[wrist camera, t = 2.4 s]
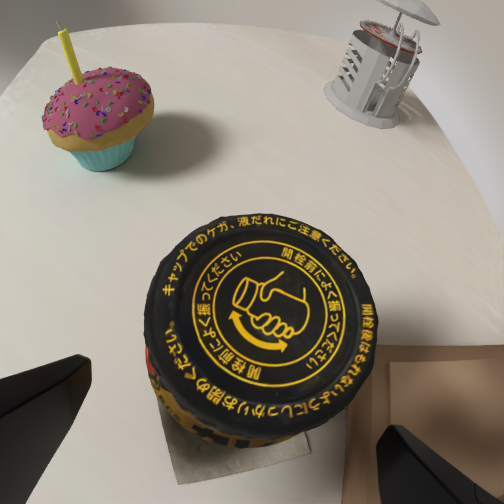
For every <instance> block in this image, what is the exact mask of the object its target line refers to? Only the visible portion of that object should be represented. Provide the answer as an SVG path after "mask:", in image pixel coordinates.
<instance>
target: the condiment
mask: <svg viewBox="0 0 504 504" xmlns="http://www.w3.org/2000/svg"><path fill="white" fill-rule="evenodd" d="M377 328H378V316H377V312H376V308H375V303H374V301H373V298H372V295H371V292H370V288H369V286H368V284H367V283H366V281H365V279H364V276H363V274H362V272H361V271H360V269H359V268H358V266H357V263H356V262H355V261H354V260H353V259H352V258H351V257H350V256H349V255H348V254H347V253H346V252H344V251H343V250H342V249H341V248H340V247H339V246H338V245H337V244H336V242H335V241H334V240H333V239H332V238H331V237H330V236H328V235H327V234H326V233H324V232H323V231H321V230H319V229H316V228H314V227H312V226H310V225H308V224H306V223H303V222H301V221H298V220H295V219H292V218H289V217H284V216H280V215H275V214H261V213H258V214H249V215H236V216H228V217H220V218H218V219H216V220H213V221H212V222H210V223H209V224H207V225H204V226H201V227H199V228H197V229H196V230H194V231H193V232H191V233H190V234H189V235H188V236H186V237H185V238H184V239H183V240H182V241H181V242H180V243H179V244H178V245H176V246H175V248H174V249H173V250H172V251H171V252H170V253H169V254H168V255H167V256H166V257H165V258H163V259H162V261H161V262H160V264H159V267H158V269H157V272H156V274H155V276H154V277H153V279H152V281H151V284H150V288H149V291H148V294H147V299H146V304H145V310H144V338H145V344H146V364H147V368H148V376H149V378H150V381H151V385H152V387H153V389H154V391H155V394H156V396H157V401H158V406H159V411H160V415H161V420H162V425H163V428H164V433H165V437H166V442H167V445H168V449H169V453H170V457H171V461H172V465H173V469H174V472H175V476H176V479H177V483H178V485H181V484H187V483H192V482H197V481H203V480H208V479H213V478H219V477H223V476H228V475H232V474H236V473H241V472H245V471H249V470H253V469H255V468H261V467H265V466H269V465H272V464H276V463H279V462H282V461H286V460H289V459H293V458H296V457H299V456H302V455H305V454H308V453H310V450H309V447H308V443H307V439H306V436H305V433H304V431H308V430H311V429H313V428H316V427H318V426H320V425H322V424H324V423H326V422H327V421H328V420H329V419H330V418H332V417H334V416H335V415H336V414H338V413H339V412H340V411H341V410H343V409H344V408H345V406H347V405H348V404H350V402H351V401H352V400H353V399H354V397H355V396H356V394H357V392H358V391H359V389H360V388H361V387H362V385H363V383H364V382H365V380H366V379H367V378H368V376H369V375H370V373H371V371H372V369H373V366H374V359H375V349H376V343H377Z"/></svg>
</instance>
